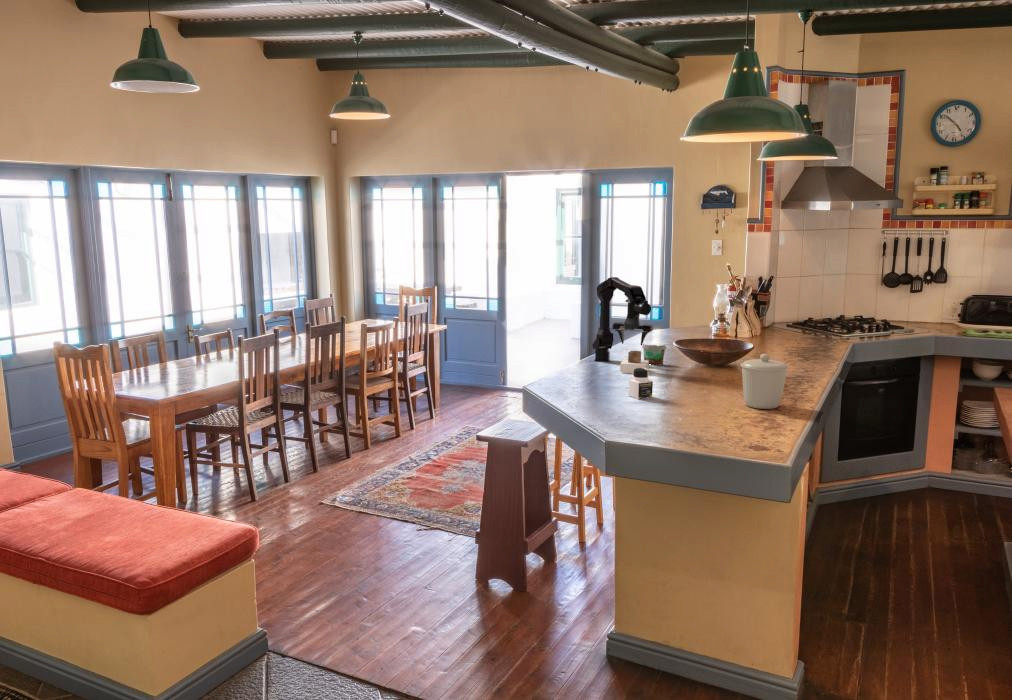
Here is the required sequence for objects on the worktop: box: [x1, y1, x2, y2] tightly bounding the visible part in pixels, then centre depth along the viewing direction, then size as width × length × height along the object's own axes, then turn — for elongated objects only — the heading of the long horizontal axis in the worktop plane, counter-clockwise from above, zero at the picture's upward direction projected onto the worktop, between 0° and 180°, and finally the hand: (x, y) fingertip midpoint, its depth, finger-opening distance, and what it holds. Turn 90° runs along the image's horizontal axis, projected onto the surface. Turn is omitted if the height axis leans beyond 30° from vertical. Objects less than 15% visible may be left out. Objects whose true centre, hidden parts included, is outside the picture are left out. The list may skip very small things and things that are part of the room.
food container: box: [641, 342, 667, 366], centre depth 399 cm, size 12×6×10 cm, turn 62°
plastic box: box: [619, 358, 650, 374], centre depth 382 cm, size 12×12×5 cm
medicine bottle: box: [628, 368, 654, 400], centre depth 328 cm, size 7×7×12 cm
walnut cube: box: [627, 350, 642, 363], centre depth 381 cm, size 5×5×5 cm
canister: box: [740, 353, 790, 410], centre depth 312 cm, size 18×18×21 cm
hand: (631, 344), depth 384 cm, fingers open, 9 cm apart
